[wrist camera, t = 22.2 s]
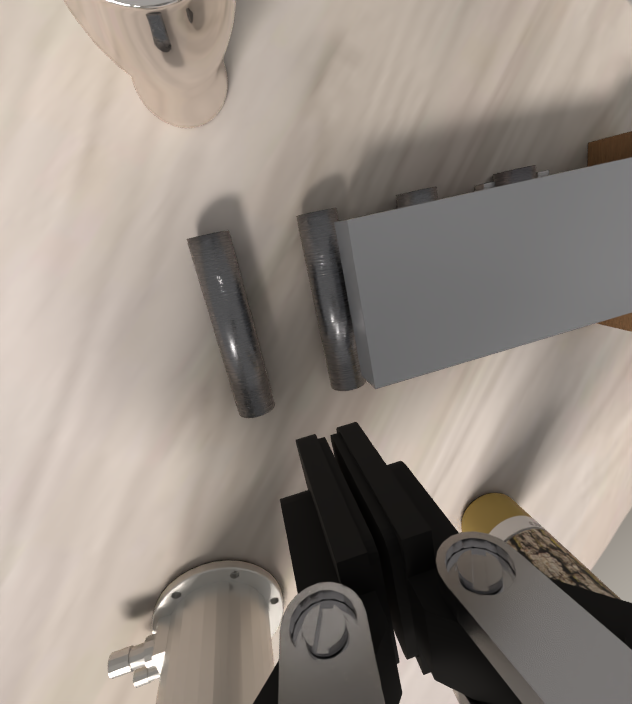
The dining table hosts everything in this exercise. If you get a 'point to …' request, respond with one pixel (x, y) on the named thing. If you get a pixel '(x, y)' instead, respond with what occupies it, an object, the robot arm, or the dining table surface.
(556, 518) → the dining table surface
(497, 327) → the slab
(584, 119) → the dining table surface
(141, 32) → the beer glass
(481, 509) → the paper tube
